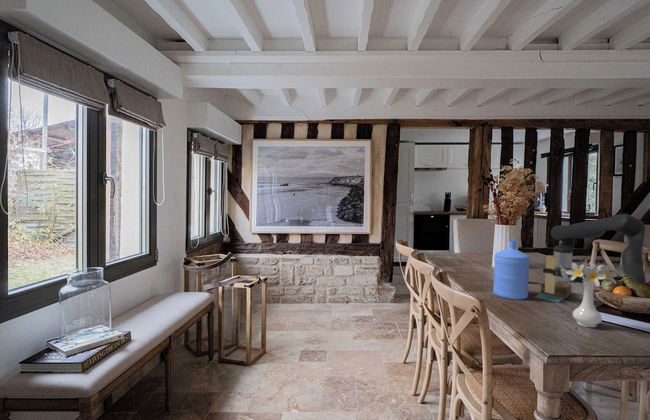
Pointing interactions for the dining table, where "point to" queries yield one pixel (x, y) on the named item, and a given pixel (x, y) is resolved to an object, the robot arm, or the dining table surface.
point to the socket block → (559, 289)
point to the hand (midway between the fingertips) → (544, 269)
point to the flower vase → (588, 291)
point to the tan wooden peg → (551, 275)
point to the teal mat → (549, 297)
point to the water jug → (511, 273)
